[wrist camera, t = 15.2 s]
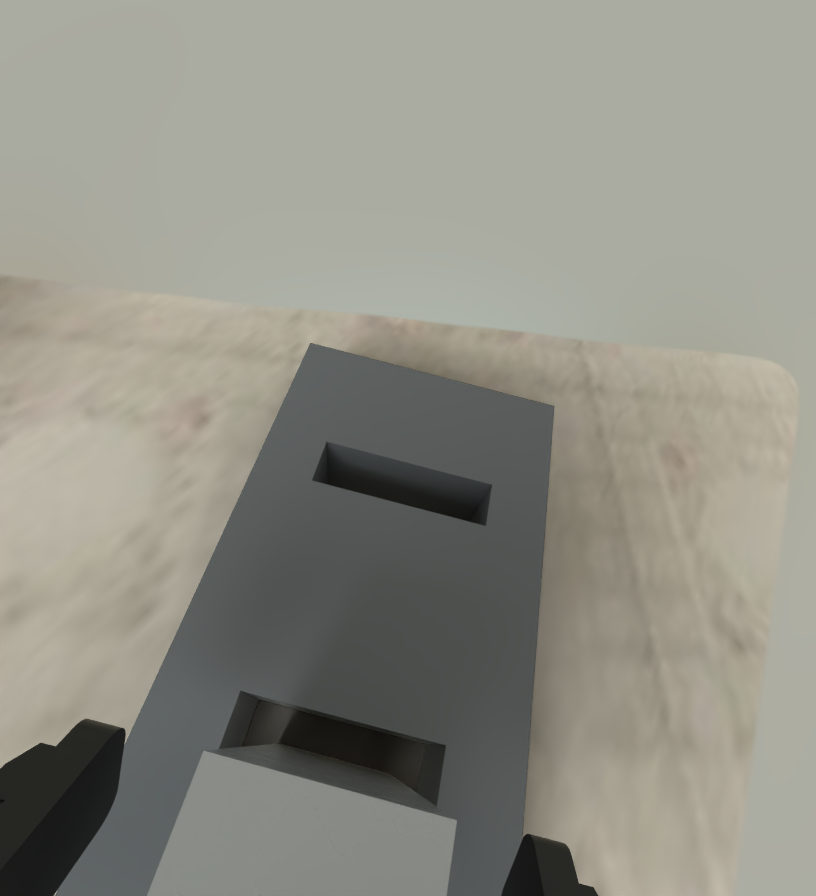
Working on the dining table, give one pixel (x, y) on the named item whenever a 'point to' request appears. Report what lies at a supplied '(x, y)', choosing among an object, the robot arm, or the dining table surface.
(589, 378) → the dining table surface
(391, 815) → the grey square peg
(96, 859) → the holder
